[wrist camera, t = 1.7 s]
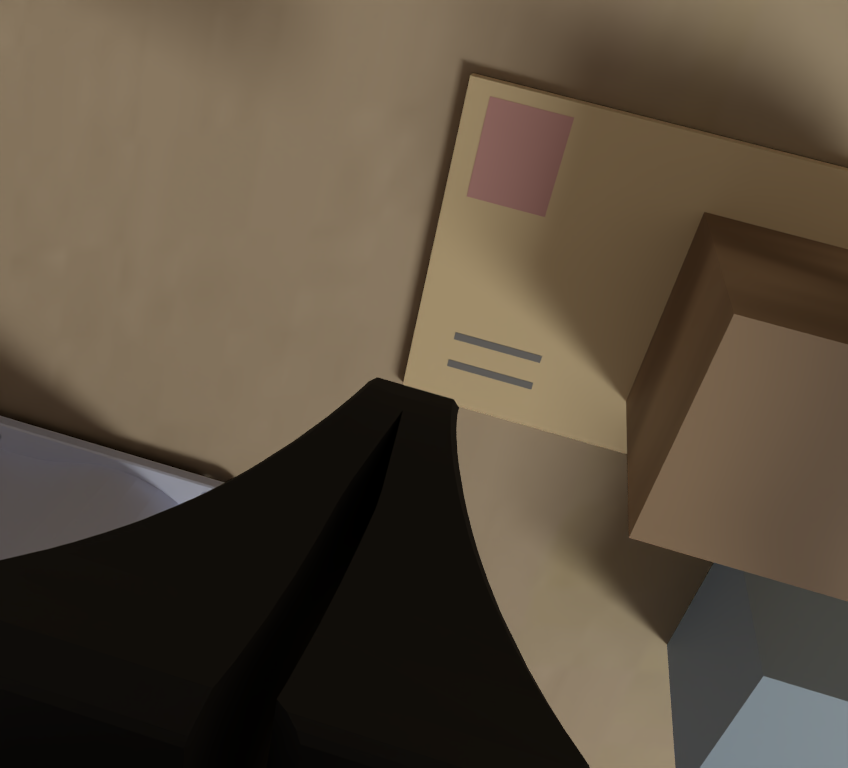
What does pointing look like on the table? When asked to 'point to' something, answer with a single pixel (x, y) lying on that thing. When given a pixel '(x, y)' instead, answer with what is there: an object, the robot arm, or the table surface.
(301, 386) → the table surface
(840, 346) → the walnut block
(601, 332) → the letter
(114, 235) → the table surface
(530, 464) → the table surface
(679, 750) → the slate cube
